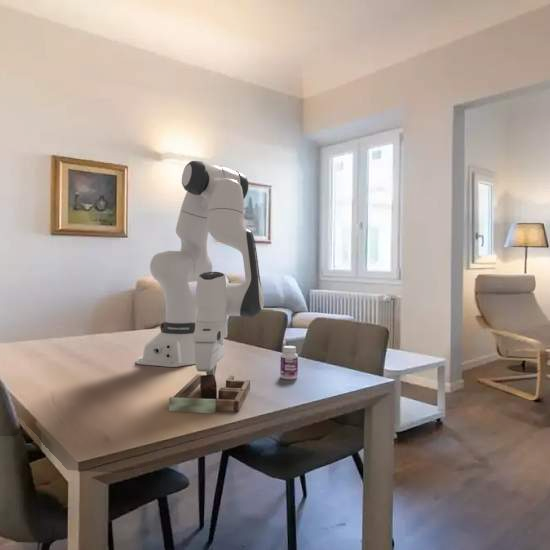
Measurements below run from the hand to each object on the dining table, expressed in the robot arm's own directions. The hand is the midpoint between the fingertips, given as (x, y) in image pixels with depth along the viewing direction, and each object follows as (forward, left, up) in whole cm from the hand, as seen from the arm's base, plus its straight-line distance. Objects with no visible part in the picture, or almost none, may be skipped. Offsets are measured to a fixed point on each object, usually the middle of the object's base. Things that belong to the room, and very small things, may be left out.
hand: (211, 380), depth 129 cm
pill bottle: (+21, +17, -3) cm, 27 cm away
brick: (+1, -7, -3) cm, 8 cm away
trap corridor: (+2, -6, -3) cm, 7 cm away
